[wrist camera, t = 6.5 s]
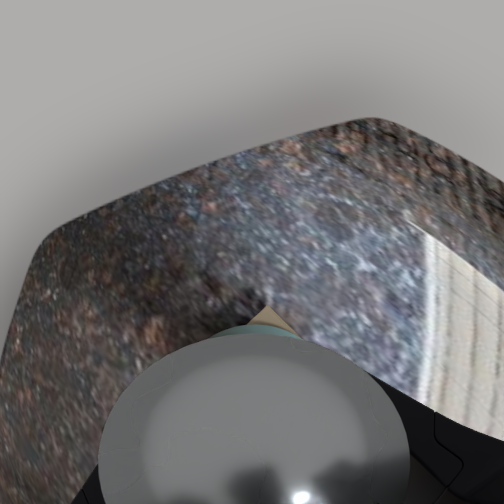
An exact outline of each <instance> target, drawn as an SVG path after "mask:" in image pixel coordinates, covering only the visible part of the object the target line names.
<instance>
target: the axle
mask: <svg viewBox="0 0 504 504" xmlns="http://www.w3.org/2000/svg"><path fill="white" fill-rule="evenodd" d="M98 467H99V479H100V485H101V490H102V494H103V497H104V500H105V503H106V504H402V503H403V501H404V497H405V494H406V490H407V486H408V481H409V472H410V453H409V446H408V440H407V435H406V432H405V429H404V426H403V423H402V420H401V418H400V416H399V414H398V412H397V410H396V408H395V406H394V404H393V403H392V401H391V400H390V398H389V397H388V396H387V394H386V393H385V392H384V390H383V389H382V388H381V386H380V385H379V384H378V383H377V382H376V381H375V380H374V379H373V378H372V377H371V376H370V375H369V374H368V373H367V372H365V371H364V370H363V369H361V368H360V367H358V366H357V365H356V364H354V363H353V362H352V361H350V360H349V359H347V358H345V357H343V356H341V355H340V354H338V353H336V352H334V351H332V350H330V349H327V348H325V347H322V346H320V345H317V344H315V343H312V342H308V341H305V340H301V339H297V338H293V337H287V336H280V335H274V334H251V333H248V334H237V335H226V336H221V337H216V338H211V339H207V340H203V341H200V342H197V343H194V344H191V345H188V346H185V347H183V348H181V349H179V350H177V351H175V352H173V353H171V354H168V355H166V356H165V357H163V358H162V359H160V360H159V361H157V362H156V363H154V364H152V365H151V366H149V367H148V368H147V369H146V370H145V371H144V372H142V373H141V374H140V375H139V376H138V377H137V378H135V379H134V380H133V382H132V383H131V384H130V385H129V386H128V387H127V388H126V389H125V391H124V392H123V393H122V394H121V396H120V397H119V399H118V400H117V402H116V404H115V405H114V407H113V408H112V410H111V412H110V415H109V417H108V419H107V421H106V423H105V426H104V430H103V433H102V437H101V440H100V448H99V456H98Z"/></svg>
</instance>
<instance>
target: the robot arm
mask: <svg viewBox="0 0 504 504" xmlns="http://www.w3.org/2000/svg"><path fill="white" fill-rule="evenodd" d="M364 371H365V370H364ZM365 372H366V371H365ZM367 373H368V372H367ZM368 374H369V375H370V376H371V377H372V378H373V379H374V380H375V381H376V382H377V383H378V384H379V385H380V386H381V388H382V389H383V390H384V392H385V393H386V394H387V396H388V397H389V398H390V400H391V401H392V403H393V404H394V406H395V408H396V410H397V412H398V414H399V416H400V418H401V420H402V423H403V426H404V429H405V432H406V435H407V440H408V446H409V453H410V472H409V481H408V486H407V490H406V494H405V497H404V501H403V503H402V504H504V441H502V440H499V439H496V438H494V437H491V436H488V435H485V434H483V433H480V432H477V431H475V430H473V429H470V428H468V427H465V426H463V425H461V424H459V423H457V422H455V421H453V420H451V419H449V418H447V417H445V416H443V415H441V414H440V413H438V412H434V410H432V409H430V408H429V407H427V406H425V405H423V404H422V403H420V402H418V401H416V400H414V399H413V398H411V397H409V396H407V395H406V394H404V393H402V392H401V391H399V390H397V389H395V388H394V387H392V386H390V385H388V384H387V383H385V382H383V381H382V380H380V379H378V378H377V377H375V376H373V375H371V374H370V373H368ZM71 504H106V503H105V500H104V497H103V494H102V490H101V485H100V479H99V467H98V464H97V466H96V467H95V469H94V470H93V472H92V473H91V474H90V476H89V477H88V479H87V480H86V482H85V483H84V485H83V486H82V489H80V491H79V492H78V494H77V495H76V497H75V498H74V499H73V501H72V502H71Z"/></svg>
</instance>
